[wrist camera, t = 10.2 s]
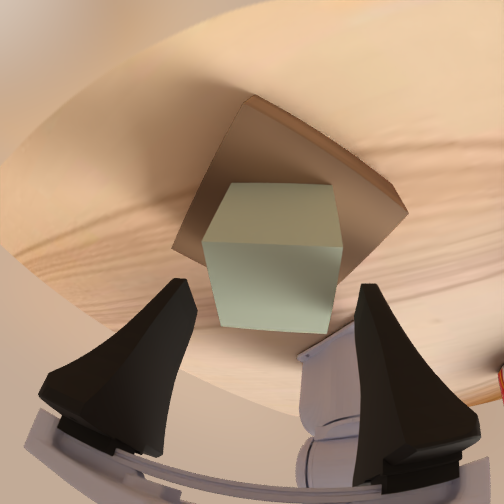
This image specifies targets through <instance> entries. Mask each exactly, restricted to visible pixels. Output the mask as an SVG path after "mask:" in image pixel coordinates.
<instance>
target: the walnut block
mask: <svg viewBox="0 0 504 504" xmlns="http://www.w3.org/2000/svg"><path fill="white" fill-rule="evenodd" d="M231 183H296V184H322V185H332V186H333V191H334V196H335V202H336V207H337V213H338V218H339V224H340V231H341V237H342V243H343V251H342V258H341V264H340V270H339V276H338V281H337V285H338V284H339V283H340V282H341V281H342V280H343V279H344V278H345V277H346V276H347V275H349V274H350V273H351V272H352V271H353V270H354V269H355V268H356V267H357V266H358V265H359V264H360V263H361V262H362V261H363V260H364V259H365V258H366V257H367V256H368V255H369V254H370V253H371V252H372V251H373V250H374V249H375V248H376V247H377V246H378V245H379V244H380V243H381V242H382V241H383V240H384V239H385V238H386V237H387V236H388V235H389V234H390V233H391V232H392V231H393V230H394V229H395V228H396V227H397V226H398V225H399V224H400V223H401V221H402V220H403V219H404V218H405V217H406V216H407V215H408V214H409V213H408V211H407V209H406V207H405V205H404V204H403V202H402V200H401V198H400V197H399V195H398V193H397V192H396V190H395V188H394V186H393V185H392V184H391V183H390V182H388V181H387V180H386V179H385V178H383V177H382V176H381V175H380V174H378V173H377V172H376V171H374V170H373V169H372V168H370V167H369V166H368V165H366V164H365V163H364V162H362V161H361V160H360V159H358V158H357V157H356V156H354V155H353V154H351V153H350V152H349V151H347V150H346V149H344V148H343V147H341V146H340V145H338V144H337V143H336V142H334V141H333V140H331V139H330V138H328V137H327V136H325V135H324V134H322V133H320V132H319V131H317V130H316V129H314V128H313V127H311V126H309V125H308V124H306V123H305V122H303V121H301V120H300V119H298V118H296V117H295V116H293V115H291V114H290V113H288V112H286V111H284V110H283V109H281V108H279V107H277V106H276V105H274V104H272V103H270V102H268V101H267V100H265V99H263V98H261V97H259V96H257V95H254V96H252V97H251V98H250V99H248V100H247V101H246V102H244V103H243V105H242V106H241V108H240V110H239V112H238V113H237V115H236V117H235V119H234V121H233V122H232V124H231V126H230V128H229V130H228V132H227V134H226V135H225V137H224V139H223V141H222V143H221V145H220V147H219V149H218V151H217V153H216V155H215V156H214V158H213V160H212V162H211V164H210V166H209V168H208V170H207V172H206V174H205V176H204V178H203V180H202V182H201V185H200V187H199V189H198V191H197V193H196V195H195V197H194V199H193V201H192V203H191V206H190V208H189V210H188V212H187V214H186V216H185V219H184V221H183V223H182V225H181V227H180V230H179V232H178V234H177V237H176V239H175V241H174V243H173V246H172V248H171V249H173V250H175V251H177V252H179V253H181V254H183V255H184V256H186V257H188V258H190V259H192V260H194V261H196V262H198V263H200V264H202V265H204V266H206V267H207V265H206V260H205V256H204V251H203V246H202V242H201V241H202V239H203V237H204V235H205V233H206V231H207V229H208V227H209V225H210V223H211V221H212V219H213V217H214V215H215V214H216V212H217V210H218V208H219V206H220V204H221V202H222V200H223V198H224V196H225V194H226V192H227V190H228V188H229V187H230V185H231Z"/></svg>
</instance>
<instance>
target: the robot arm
mask: <svg viewBox="0 0 504 504" xmlns="http://www.w3.org/2000/svg"><path fill="white" fill-rule="evenodd" d="M197 311H198V310H197V308H196V305H195V302H194V299H193V296H192V293H191V291H190V288H189V285H188V282H187V279H180V278H174V279H172V280H171V281H170V282H169V283H168V284H167V285H166V286H165V287H164V288H163V289H162V290H161V291H160V292H159V293H158V294H157V295H156V296H155V297H154V298H153V299H152V300H151V301H150V302H149V303H148V304H147V305H146V306H145V307H144V308H143V309H142V310H141V311H140V312H139V313H138V314H137V315H136V316H135V317H134V318H133V319H131V320H130V321H129V322H128V323H127V324H126V325H125V326H124V327H123V328H121V329H120V330H119V331H118V332H117V333H115V334H114V335H113V336H112V337H110V338H109V339H108V340H106V341H105V342H104V343H102V344H101V345H99V346H98V347H96V348H95V349H93V350H92V351H90V352H89V353H87V354H85V355H84V356H82V357H80V358H79V359H77V360H75V361H73V362H71V363H69V364H67V365H65V366H63V367H61V368H59V369H56V370H54V371H52V372H50V373H48V375H47V378H46V379H45V381H44V383H43V385H42V387H41V389H40V391H39V393H38V395H39V397H40V398H41V399H42V400H43V401H44V402H46V403H47V404H48V405H49V406H51V407H52V408H53V409H55V410H56V411H57V412H59V413H60V414H61V415H62V417H61V419H59V418H57V417H55V416H54V415H52V414H50V413H49V412H47V411H45V410H44V409H42V408H40V410H39V412H38V414H37V416H36V419H35V421H34V423H33V425H32V428H31V430H30V432H29V435H28V437H27V440H26V442H25V445H24V448H25V449H26V450H27V451H29V452H30V453H31V454H32V455H34V456H35V457H36V458H37V459H39V460H40V461H41V462H42V463H44V464H45V465H46V466H47V467H49V468H50V469H51V470H52V471H54V472H55V473H56V474H57V475H58V476H60V477H61V478H62V479H64V480H65V481H66V482H67V483H69V484H70V485H71V486H73V487H74V488H75V489H77V490H78V491H80V492H81V493H83V494H84V495H85V496H87V497H88V498H90V499H91V500H93V501H94V502H96V503H98V504H195V503H191V502H187V501H184V500H180V496H181V493H182V492H181V491H180V490H177V489H174V488H170V487H167V486H164V485H161V484H158V483H155V482H152V481H149V480H147V479H145V477H144V474H143V473H145V474H148V475H151V476H154V477H156V478H160V479H163V480H166V481H169V482H172V483H176V484H179V485H183V486H187V487H190V488H194V489H199V490H203V491H207V492H212V493H217V494H222V495H228V496H233V497H239V498H246V499H253V500H262V501H271V502H283V503H302V504H490V465H489V457H485V458H482V459H479V460H477V461H473V462H470V463H468V464H465V465H462V466H459V460H461V459H462V451H463V450H465V449H466V448H468V447H470V446H472V445H473V444H475V443H476V442H477V441H479V440H480V438H481V432H480V424H479V420H478V416H477V414H476V413H475V412H474V411H473V410H471V409H470V408H469V407H468V406H467V405H466V404H464V403H463V402H462V401H461V400H460V399H459V398H458V397H457V396H456V395H455V394H454V393H453V392H452V391H451V390H450V389H449V388H448V387H447V386H446V385H445V384H444V383H443V382H442V380H441V379H440V378H439V377H438V376H437V375H436V374H435V373H434V372H433V370H432V369H431V368H430V367H429V365H428V364H427V363H426V362H425V360H424V359H423V358H422V356H421V355H420V354H419V352H418V351H417V350H416V348H415V347H414V345H413V344H412V342H411V341H410V339H409V338H408V337H407V335H406V333H405V332H404V330H403V329H402V327H401V326H400V324H399V322H398V321H397V319H396V317H395V316H394V314H393V312H392V311H391V309H390V307H389V305H388V304H387V302H386V300H385V298H384V296H383V295H382V293H381V291H380V289H379V287H378V285H377V284H361V287H360V292H359V297H358V302H357V306H356V311H355V315H354V321H353V322H352V323H350V324H348V325H347V326H345V327H344V328H342V329H341V330H339V331H337V332H336V333H334V334H333V335H331V336H329V337H328V338H326V339H324V340H323V341H321V342H319V343H318V344H316V345H314V346H313V347H311V348H309V349H308V350H306V351H304V352H302V353H301V354H299V355H297V360H298V361H300V362H303V366H302V380H301V392H300V403H299V414H300V419H301V422H302V424H303V426H304V428H305V429H306V430H307V431H308V432H309V433H310V434H311V435H313V436H314V437H310V438H309V439H308V440H307V441H306V442H305V444H304V445H303V446H302V447H301V449H300V451H299V454H298V458H297V462H296V482H297V486H298V488H294V487H278V486H267V485H258V484H250V483H242V482H236V481H230V480H224V479H219V478H214V477H209V476H205V475H200V474H196V473H192V472H188V471H184V470H180V469H176V468H173V467H169V466H166V465H163V464H159V463H156V462H153V461H150V460H147V459H144V458H141V457H138V456H136V455H134V453H138V454H140V455H142V454H146V455H149V456H152V457H155V458H157V457H159V456H161V455H163V447H164V436H165V428H166V421H167V414H168V410H169V405H170V399H171V395H172V390H173V386H174V382H175V379H176V376H177V372H178V370H179V367H180V364H181V362H182V359H183V356H184V354H185V351H186V348H187V346H188V343H189V340H190V338H191V335H192V332H193V329H194V325H195V320H196V316H197Z"/></svg>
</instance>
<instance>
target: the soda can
mask: <svg viewBox="0 0 504 504" xmlns="http://www.w3.org/2000/svg"><path fill="white" fill-rule="evenodd" d="M498 380H499V386H500V390H501V394H502V399H503V403H504V365H503V366H502V368H501V370H500V371H499V373H498Z"/></svg>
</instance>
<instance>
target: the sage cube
mask: <svg viewBox="0 0 504 504" xmlns="http://www.w3.org/2000/svg"><path fill="white" fill-rule="evenodd" d="M201 242H202V246H203V251H204V256H205V260H206V265H207V269H208V274H209V278H210V282H211V287H212V291H213V295H214V299H215V304H216V308H217V312H218V316H219V320H220V324H221V326H224V327H233V328H244V329H255V330H267V331H281V332H297V333H318V334H327V331H328V327H329V322H330V317H331V312H332V307H333V302H334V297H335V292H336V287H337V281H338V276H339V270H340V264H341V258H342V251H343V243H342V237H341V231H340V224H339V218H338V213H337V207H336V202H335V196H334V191H333V186H332V185H322V184H296V183H231V185H230V187H229V188H228V190H227V192H226V194H225V196H224V198H223V200H222V202H221V204H220V206H219V208H218V210H217V212H216V214H215V215H214V217H213V219H212V221H211V223H210V225H209V227H208V229H207V231H206V233H205V235H204V237H203V239H202V241H201Z"/></svg>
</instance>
